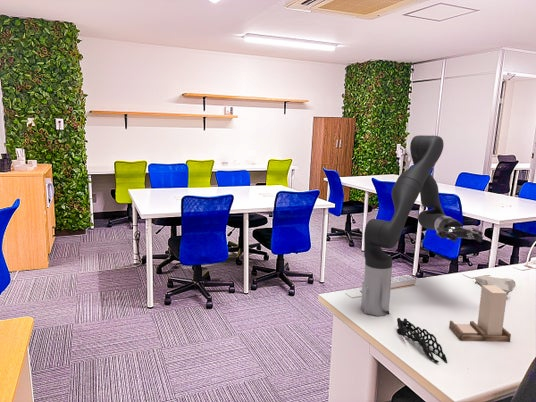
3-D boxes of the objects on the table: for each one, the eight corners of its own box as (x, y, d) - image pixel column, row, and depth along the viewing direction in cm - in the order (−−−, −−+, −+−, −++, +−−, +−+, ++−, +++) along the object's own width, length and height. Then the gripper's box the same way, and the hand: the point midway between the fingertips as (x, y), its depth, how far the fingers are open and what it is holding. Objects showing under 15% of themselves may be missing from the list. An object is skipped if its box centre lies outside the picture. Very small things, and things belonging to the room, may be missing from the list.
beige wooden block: (486, 338, 123) (492, 293, 120) (476, 329, 129) (482, 285, 126) (501, 339, 123) (507, 293, 120) (490, 329, 129) (495, 285, 126)
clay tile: (462, 338, 123) (463, 332, 123) (454, 329, 129) (455, 323, 129) (477, 338, 123) (477, 332, 123) (468, 329, 129) (469, 324, 128)
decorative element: (450, 367, 111) (452, 348, 110) (434, 369, 109) (436, 349, 108) (404, 328, 132) (406, 311, 131) (390, 329, 131) (392, 313, 130)
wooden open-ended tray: (459, 344, 122) (461, 333, 121) (448, 331, 130) (449, 320, 129) (509, 345, 122) (510, 334, 121) (495, 331, 130) (496, 321, 129)
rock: (466, 290, 164) (507, 298, 153) (466, 279, 163) (507, 286, 153) (482, 281, 179) (521, 287, 168) (482, 270, 179) (521, 276, 168)
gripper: (430, 217, 151) (448, 227, 135) (468, 217, 151) (490, 228, 135) (428, 236, 152) (446, 249, 136) (466, 237, 152) (488, 250, 136)
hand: (468, 238), depth 136 cm, fingers open, 8 cm apart
